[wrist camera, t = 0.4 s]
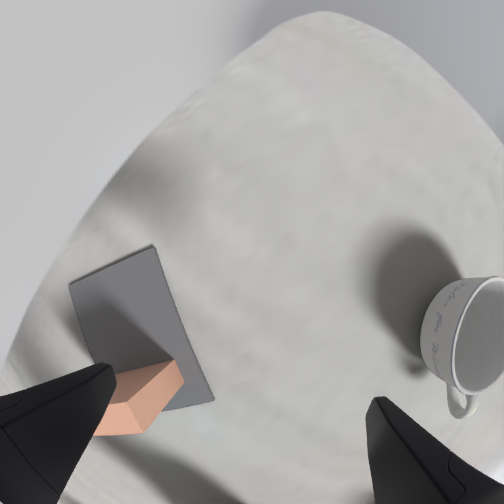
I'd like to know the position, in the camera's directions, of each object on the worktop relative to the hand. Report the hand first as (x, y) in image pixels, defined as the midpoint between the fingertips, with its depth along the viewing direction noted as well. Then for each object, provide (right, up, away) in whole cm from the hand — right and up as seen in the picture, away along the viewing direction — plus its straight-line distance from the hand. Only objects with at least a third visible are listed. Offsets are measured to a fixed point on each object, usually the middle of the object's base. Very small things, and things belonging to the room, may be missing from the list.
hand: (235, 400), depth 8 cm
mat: (-12, -4, +17) cm, 21 cm away
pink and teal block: (-10, -8, +17) cm, 21 cm away
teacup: (+21, -5, +15) cm, 27 cm away
